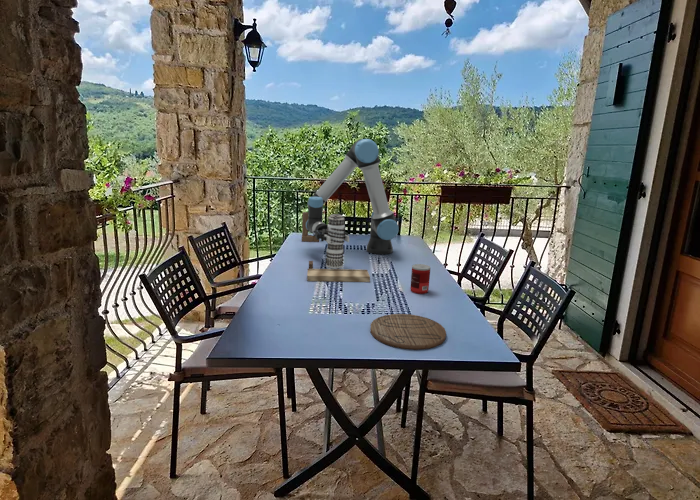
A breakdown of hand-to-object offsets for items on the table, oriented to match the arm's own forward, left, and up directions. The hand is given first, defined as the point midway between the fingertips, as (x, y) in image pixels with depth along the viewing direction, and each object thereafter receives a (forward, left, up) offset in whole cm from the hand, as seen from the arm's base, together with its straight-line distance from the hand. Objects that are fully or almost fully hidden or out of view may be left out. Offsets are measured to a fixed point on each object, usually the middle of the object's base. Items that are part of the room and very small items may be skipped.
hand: (339, 239), depth 203 cm
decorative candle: (+2, -4, -14) cm, 15 cm away
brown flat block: (+13, -4, -16) cm, 21 cm away
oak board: (0, +7, -16) cm, 18 cm away
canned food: (-34, +24, -17) cm, 44 cm away
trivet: (-20, +65, -17) cm, 71 cm away
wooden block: (+13, -67, -17) cm, 71 cm away
